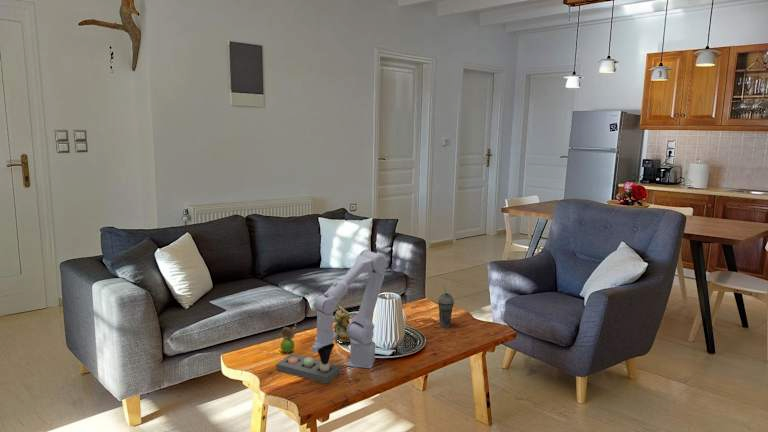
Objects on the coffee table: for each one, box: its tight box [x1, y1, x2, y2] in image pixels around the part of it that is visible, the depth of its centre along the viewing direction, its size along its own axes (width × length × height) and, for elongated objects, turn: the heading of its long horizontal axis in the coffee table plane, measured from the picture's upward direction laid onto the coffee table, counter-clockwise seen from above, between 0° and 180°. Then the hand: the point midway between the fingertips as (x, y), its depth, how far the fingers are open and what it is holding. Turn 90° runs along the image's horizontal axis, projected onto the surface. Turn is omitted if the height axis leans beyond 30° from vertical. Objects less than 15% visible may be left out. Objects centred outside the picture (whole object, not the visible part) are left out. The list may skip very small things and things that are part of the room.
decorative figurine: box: [333, 305, 351, 342], centre depth 228 cm, size 10×8×15 cm
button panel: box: [276, 353, 342, 385], centre depth 201 cm, size 22×10×2 cm, turn 65°
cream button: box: [320, 361, 330, 373], centre depth 198 cm, size 4×4×3 cm
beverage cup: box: [437, 283, 455, 329], centre depth 245 cm, size 7×7×20 cm
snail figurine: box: [280, 323, 297, 353], centre depth 216 cm, size 5×6×12 cm
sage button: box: [304, 356, 314, 369], centre depth 201 cm, size 4×4×3 cm
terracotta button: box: [288, 357, 298, 365], centre depth 204 cm, size 4×4×3 cm
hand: (324, 363), depth 197 cm, fingers closed
